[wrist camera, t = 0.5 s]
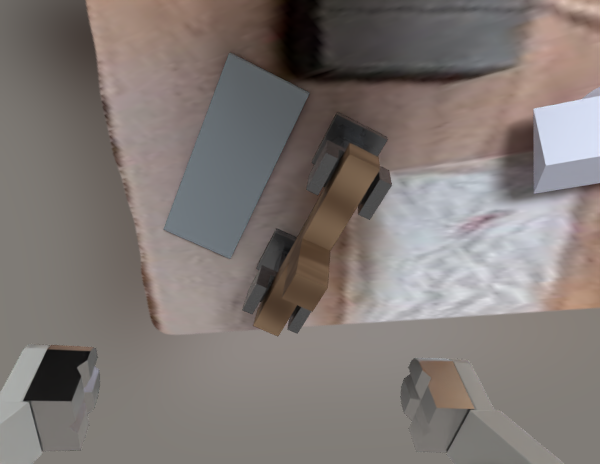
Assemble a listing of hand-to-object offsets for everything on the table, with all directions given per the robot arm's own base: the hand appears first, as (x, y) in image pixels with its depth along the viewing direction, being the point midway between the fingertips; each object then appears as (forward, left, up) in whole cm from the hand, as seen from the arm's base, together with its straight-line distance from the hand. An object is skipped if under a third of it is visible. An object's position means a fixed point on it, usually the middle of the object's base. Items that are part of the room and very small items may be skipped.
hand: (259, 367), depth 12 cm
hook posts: (+14, +6, -41) cm, 44 cm away
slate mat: (+14, -5, -41) cm, 44 cm away
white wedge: (-7, +27, -41) cm, 50 cm away
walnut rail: (+14, +6, -33) cm, 37 cm away
